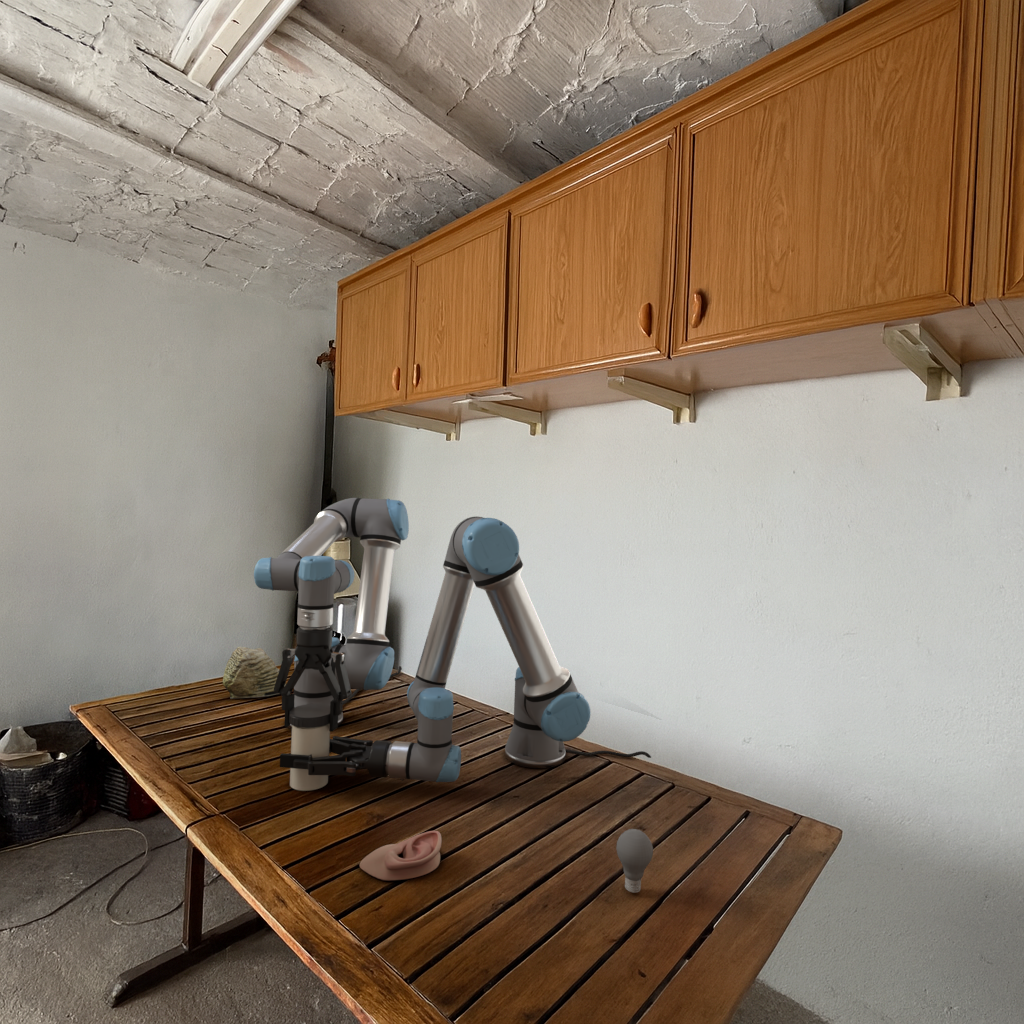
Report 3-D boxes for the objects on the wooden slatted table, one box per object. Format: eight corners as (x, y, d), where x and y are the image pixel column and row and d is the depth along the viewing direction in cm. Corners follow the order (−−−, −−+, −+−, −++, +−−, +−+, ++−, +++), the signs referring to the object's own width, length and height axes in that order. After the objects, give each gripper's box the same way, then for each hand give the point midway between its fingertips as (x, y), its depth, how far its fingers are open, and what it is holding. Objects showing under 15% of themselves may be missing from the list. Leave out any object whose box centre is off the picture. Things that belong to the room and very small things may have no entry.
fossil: (218, 695, 195) (220, 647, 195) (278, 685, 208) (279, 640, 207) (228, 703, 189) (230, 653, 188) (289, 692, 201) (290, 645, 201)
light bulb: (610, 879, 108) (613, 822, 108) (644, 879, 109) (647, 822, 109) (619, 902, 102) (622, 840, 102) (655, 901, 103) (658, 840, 103)
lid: (319, 730, 134) (320, 720, 134) (280, 724, 136) (280, 714, 136) (341, 716, 143) (341, 706, 143) (303, 711, 146) (304, 701, 146)
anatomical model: (352, 851, 106) (379, 818, 118) (351, 875, 106) (379, 839, 118) (427, 864, 104) (448, 829, 115) (426, 888, 104) (447, 850, 115)
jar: (304, 771, 145) (307, 705, 145) (335, 778, 143) (338, 710, 143) (281, 786, 138) (284, 716, 137) (313, 793, 135) (316, 722, 135)
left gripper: (258, 625, 138) (254, 727, 138) (356, 633, 134) (352, 738, 135) (276, 619, 145) (272, 716, 145) (369, 627, 142) (365, 725, 142)
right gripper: (375, 798, 128) (267, 790, 130) (400, 757, 149) (307, 750, 151) (377, 762, 128) (268, 754, 130) (402, 725, 149) (308, 719, 151)
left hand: (311, 726), depth 140 cm, fingers open, 10 cm apart
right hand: (289, 752), depth 140 cm, fingers closed on jar, 8 cm apart
